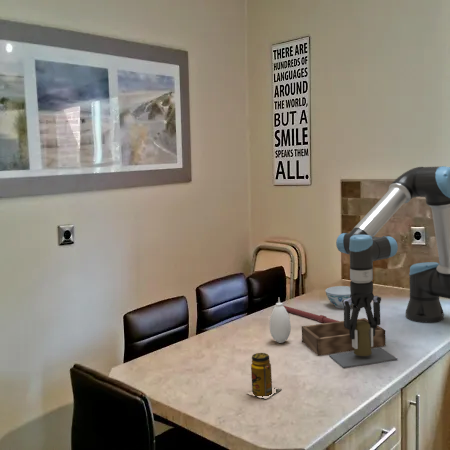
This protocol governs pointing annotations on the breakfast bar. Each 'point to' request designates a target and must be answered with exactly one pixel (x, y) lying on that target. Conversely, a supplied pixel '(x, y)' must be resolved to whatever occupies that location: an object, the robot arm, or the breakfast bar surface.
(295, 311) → the red rod with collar
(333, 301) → the chinaware
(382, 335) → the wooden box
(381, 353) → the charcoal mat
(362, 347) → the olive dumbbell shape
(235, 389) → the breakfast bar surface
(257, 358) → the condiment
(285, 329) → the white bulb air blower
